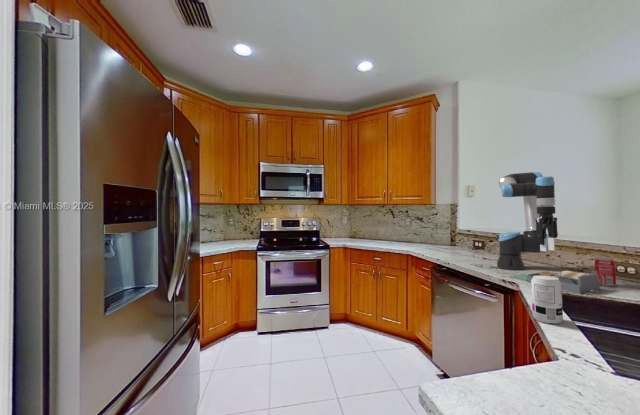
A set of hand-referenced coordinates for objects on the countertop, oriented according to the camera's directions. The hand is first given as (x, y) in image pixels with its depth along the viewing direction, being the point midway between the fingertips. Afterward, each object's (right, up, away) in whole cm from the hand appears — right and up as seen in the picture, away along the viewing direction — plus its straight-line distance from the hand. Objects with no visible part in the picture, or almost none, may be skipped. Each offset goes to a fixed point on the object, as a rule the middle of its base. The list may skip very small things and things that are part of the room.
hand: (547, 250), depth 144 cm
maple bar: (+4, -12, -11) cm, 16 cm away
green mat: (-4, -17, +11) cm, 21 cm away
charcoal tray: (+2, -17, -5) cm, 18 cm away
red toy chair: (+23, -16, -7) cm, 29 cm away
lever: (+3, -13, -6) cm, 15 cm away
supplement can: (-39, -17, -47) cm, 64 cm away
